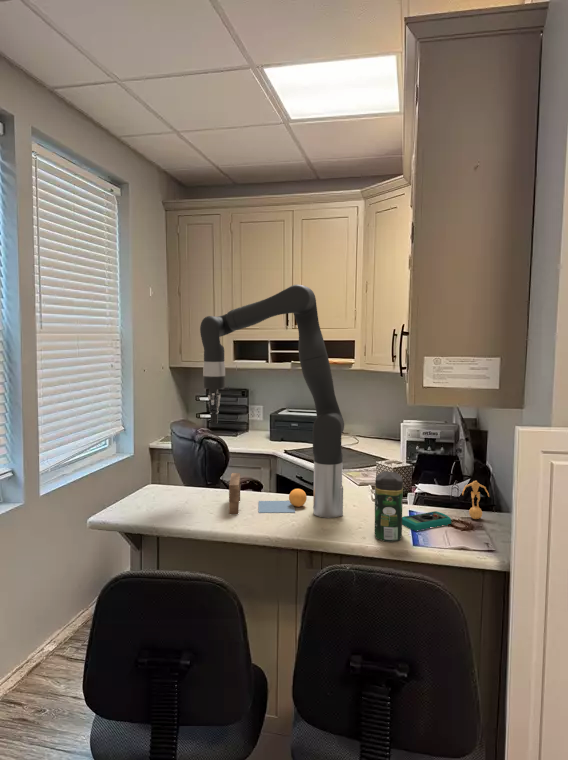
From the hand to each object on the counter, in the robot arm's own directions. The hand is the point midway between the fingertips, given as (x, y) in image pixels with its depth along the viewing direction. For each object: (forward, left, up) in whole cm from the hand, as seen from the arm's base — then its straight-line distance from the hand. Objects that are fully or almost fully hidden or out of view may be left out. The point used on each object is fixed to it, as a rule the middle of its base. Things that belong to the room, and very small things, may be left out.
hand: (214, 424), depth 179 cm
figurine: (-85, +19, -27) cm, 91 cm away
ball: (-29, +6, -24) cm, 38 cm away
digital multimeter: (-67, +24, -28) cm, 77 cm away
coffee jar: (-53, +34, -27) cm, 69 cm away
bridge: (-8, +7, -27) cm, 29 cm away
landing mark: (-22, +7, -27) cm, 35 cm away
